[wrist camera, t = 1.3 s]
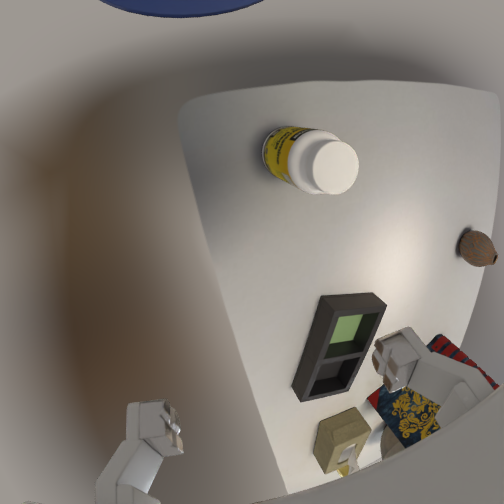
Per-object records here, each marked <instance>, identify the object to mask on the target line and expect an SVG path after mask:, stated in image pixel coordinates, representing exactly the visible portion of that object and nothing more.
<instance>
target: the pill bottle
mask: <svg viewBox="0 0 504 504" xmlns="http://www.w3.org/2000/svg"><path fill="white" fill-rule="evenodd" d="M262 158H263V162H264V164H265V166H266V168H267V169H268V171H269V172H270V173H272V174H273V175H274V176H276V177H278V178H280V179H282V180H284V181H286V182H287V183H289V184H291V185H293V186H295V187H297V188H299V189H301V190H302V191H304V192H307V193H310V194H325V193H327V194H332V195H336V194H340V193H343V192H345V191H346V190H348V189H349V188H350V187H351V186H352V185H353V183H354V182H355V180H356V177H357V174H358V170H359V163H358V158H357V155H356V153H355V151H354V150H353V148H352V147H351V146H349V145H348V144H346V143H345V142H342V141H340V140H339V138H337V137H336V136H335V135H334V134H332V133H330V132H327V131H324V130H318V129H310V128H300V127H292V126H291V127H281V128H278V129H276V130H275V131H273V132H272V133H271V134H270V135H269V136H268V137H267V138H266V140H265V142H264V144H263V148H262Z"/></svg>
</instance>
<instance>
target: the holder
mask: <svg viewBox="0 0 504 504" xmlns="http://www.w3.org/2000/svg"><path fill="white" fill-rule="evenodd" d="M386 307H387V305H386V304H385V303H384V302H383V301H382V300H381V299H380V298H378V297H377V296H376V295H375V294H374V293H360V294H345V295H329V296H321V298H320V302H319V305H318V308H317V312H316V315H315V318H314V321H313V325H312V328H311V331H310V334H309V337H308V340H307V343H306V346H305V349H304V352H303V355H302V358H301V361H300V364H299V367H298V370H297V373H296V376H295V378H294V381H293V384H292V388H293V390H294V392H295V394H296V395H297V397H298V399H299V401H300V402H305V401H310V400H314V399H319V398H323V397H327V396H331V395H335V394H339V393H343V392H347V391H349V389H350V387H351V385H352V383H353V381H354V379H355V377H356V375H357V373H358V371H359V369H360V367H361V365H362V362H363V360H364V358H365V356H366V354H367V352H368V349H369V347H370V345H371V343H372V341H373V338H374V336H375V334H376V331H377V329H378V327H379V324H380V322H381V320H382V317H383V315H384V312H385V310H386Z"/></svg>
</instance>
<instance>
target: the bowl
mask: <svg viewBox="0 0 504 504" xmlns="http://www.w3.org/2000/svg"><path fill="white" fill-rule="evenodd" d="M380 447H381V454H382V460H384V459H386V458H388V457H390V456H392V455H394V454H396V453H398V452H400V451H402V450H404V449H405V448H404V446H403V445H402V444H401V442H400V441H399V440H398V439H397V437H396V436H395V435H394V433H393V432H392V431H391V429H390V428H389V427H388V425H387V427H386V428H385V429H384V431H383V433H382V437H381V444H380Z"/></svg>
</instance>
